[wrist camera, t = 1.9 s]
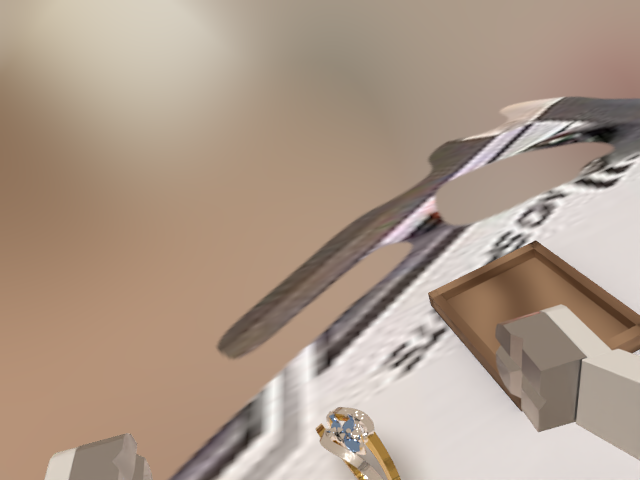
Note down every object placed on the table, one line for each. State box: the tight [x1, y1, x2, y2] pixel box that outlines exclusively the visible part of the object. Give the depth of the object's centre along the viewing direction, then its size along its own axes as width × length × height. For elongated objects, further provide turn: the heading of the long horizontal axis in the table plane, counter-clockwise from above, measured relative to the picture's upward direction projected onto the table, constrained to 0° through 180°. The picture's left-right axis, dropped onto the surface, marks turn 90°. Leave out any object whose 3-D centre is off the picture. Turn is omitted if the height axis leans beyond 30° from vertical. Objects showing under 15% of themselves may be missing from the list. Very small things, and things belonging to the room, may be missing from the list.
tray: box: [428, 241, 640, 411], centre depth 43 cm, size 11×13×2 cm
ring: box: [316, 407, 401, 480], centre depth 33 cm, size 7×3×8 cm, turn 32°
